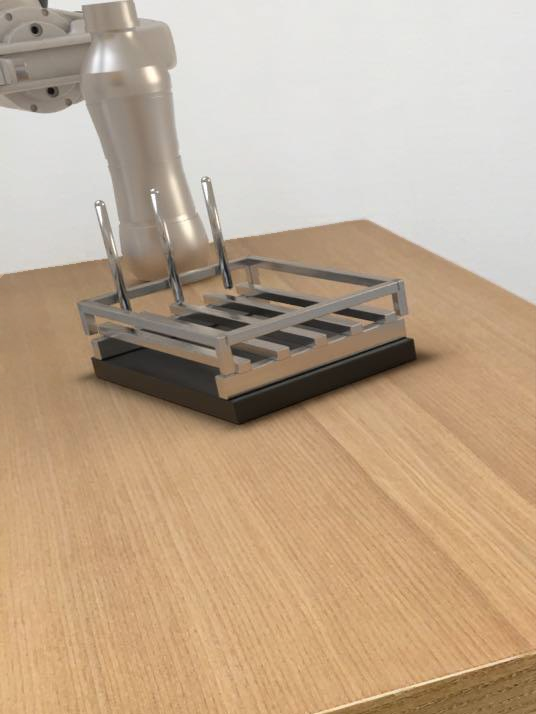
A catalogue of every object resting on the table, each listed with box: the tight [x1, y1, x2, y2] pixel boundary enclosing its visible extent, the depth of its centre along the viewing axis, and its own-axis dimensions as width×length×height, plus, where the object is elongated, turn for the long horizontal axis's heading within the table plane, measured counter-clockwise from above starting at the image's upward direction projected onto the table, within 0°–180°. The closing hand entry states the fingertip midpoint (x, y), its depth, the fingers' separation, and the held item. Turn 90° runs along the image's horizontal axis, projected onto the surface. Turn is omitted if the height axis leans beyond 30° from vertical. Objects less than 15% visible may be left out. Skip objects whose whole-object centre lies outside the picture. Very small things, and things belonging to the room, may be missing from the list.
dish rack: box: [76, 176, 417, 425], centre depth 70 cm, size 16×12×10 cm
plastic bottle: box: [79, 0, 211, 282], centre depth 92 cm, size 6×7×20 cm
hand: (77, 62), depth 99 cm, fingers open, 8 cm apart
